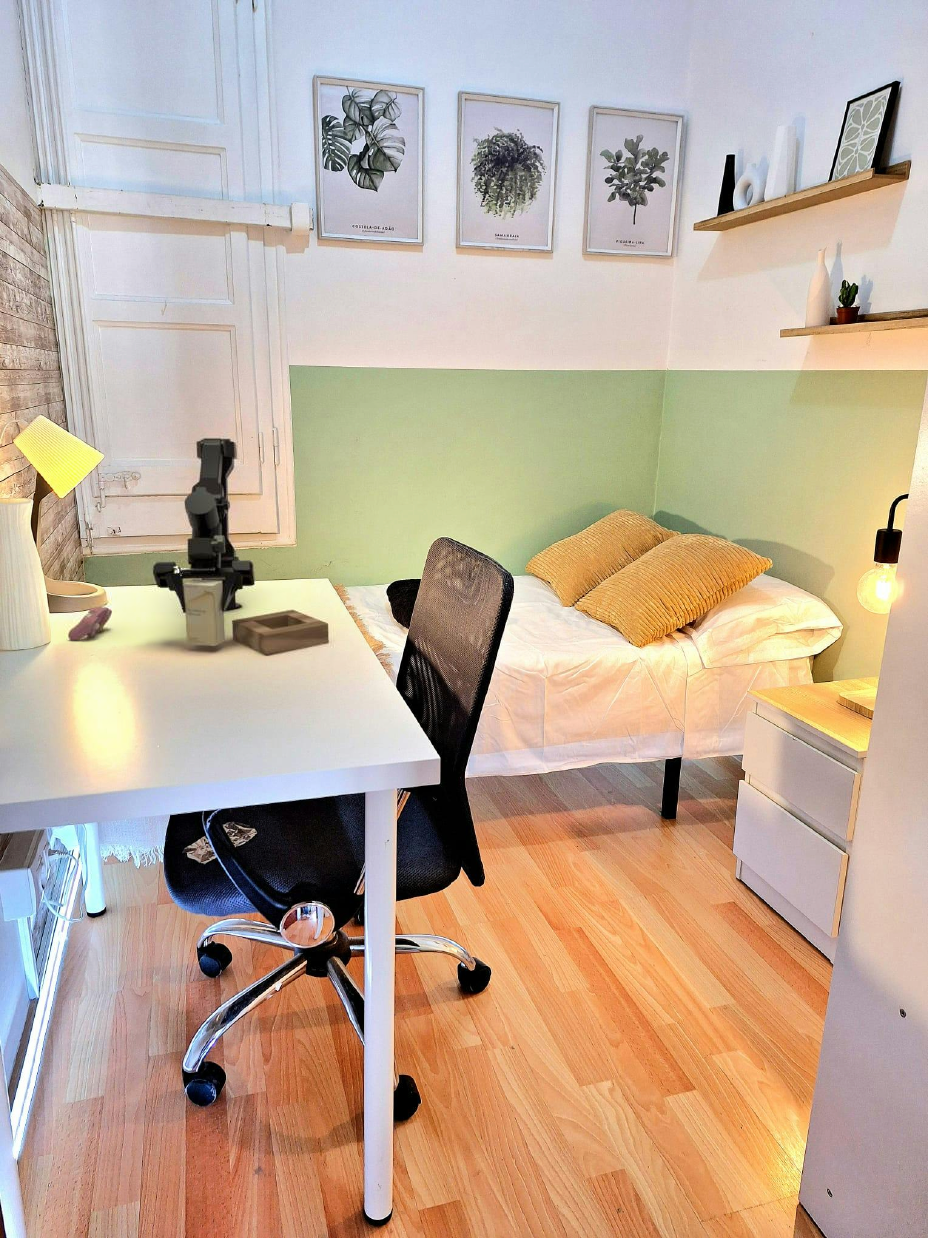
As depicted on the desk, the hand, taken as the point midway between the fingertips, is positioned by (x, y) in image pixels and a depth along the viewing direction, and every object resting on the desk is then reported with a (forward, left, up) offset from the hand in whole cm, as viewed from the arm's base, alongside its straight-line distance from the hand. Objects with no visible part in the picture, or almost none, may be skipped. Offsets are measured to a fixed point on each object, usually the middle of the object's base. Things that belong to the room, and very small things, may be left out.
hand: (203, 611), depth 162 cm
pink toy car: (-25, -13, -8) cm, 29 cm away
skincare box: (-1, +1, -7) cm, 7 cm away
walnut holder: (+3, +15, -8) cm, 17 cm away
